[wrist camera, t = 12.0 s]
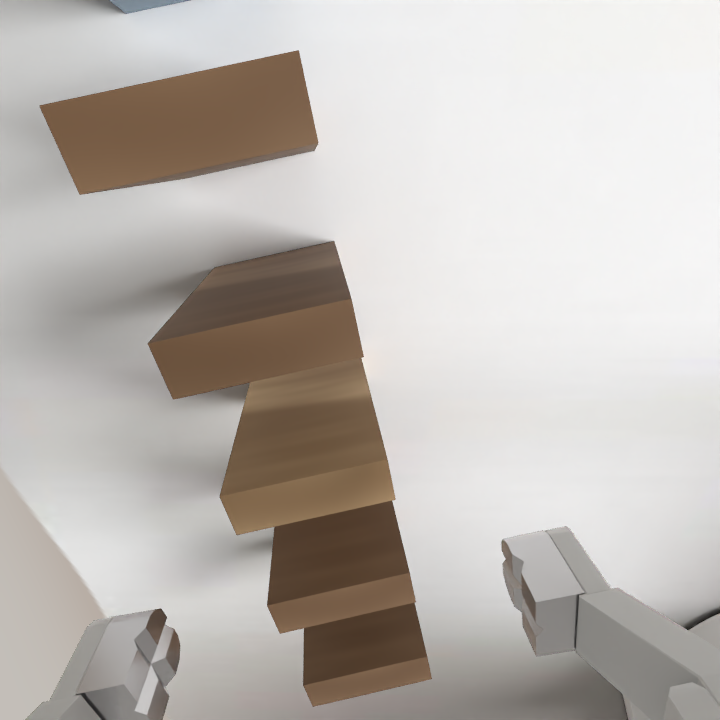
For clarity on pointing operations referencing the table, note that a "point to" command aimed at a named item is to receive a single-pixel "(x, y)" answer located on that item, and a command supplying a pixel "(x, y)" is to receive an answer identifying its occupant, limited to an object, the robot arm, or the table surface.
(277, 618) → the domino
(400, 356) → the table surface
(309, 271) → the domino
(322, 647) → the domino
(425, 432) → the table surface
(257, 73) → the domino
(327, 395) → the domino
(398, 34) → the table surface
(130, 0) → the domino
